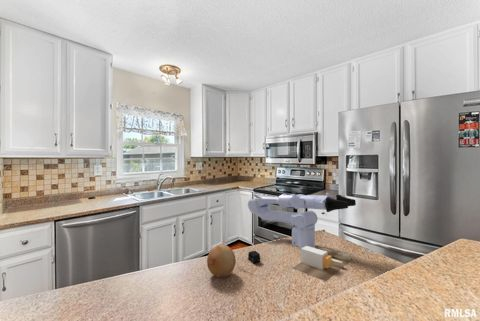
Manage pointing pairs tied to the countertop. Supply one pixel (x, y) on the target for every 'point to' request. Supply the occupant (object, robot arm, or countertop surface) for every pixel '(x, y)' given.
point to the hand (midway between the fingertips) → (351, 203)
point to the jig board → (337, 263)
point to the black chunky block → (254, 257)
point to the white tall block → (315, 257)
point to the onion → (221, 260)
